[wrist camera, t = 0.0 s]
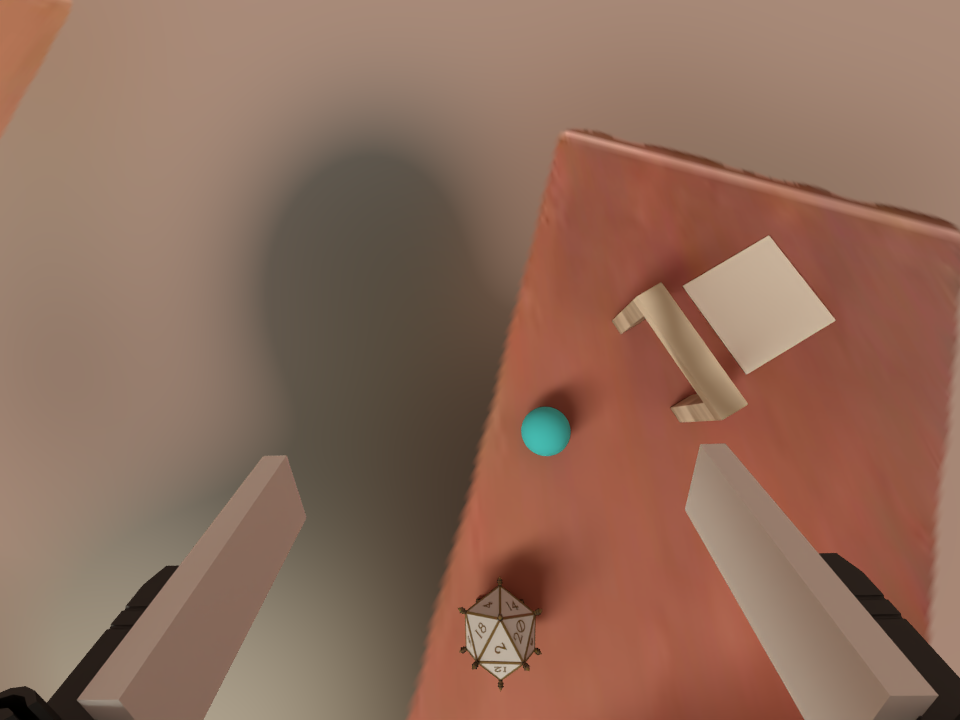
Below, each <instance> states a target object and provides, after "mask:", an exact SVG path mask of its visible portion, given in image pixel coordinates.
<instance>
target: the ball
mask: <svg viewBox="0 0 960 720" xmlns="http://www.w3.org/2000/svg"><path fill="white" fill-rule="evenodd" d="M521 433H522V438H523V441H524V443H525V444H526V446H527V447H528V448H529V449H530V450H531V451H532V452H534V453H536V454H538V455H542V456H552V455H555V454H557V453H559V452H561V451H562V450H563V449H564V448H565V447H566V446H567V444H568V442H569V439H570V435H571V430H570V425H569V422H568V420H567V418H566V417H565V416H564V414H563V413H561V412H560V411H559V410H557V409H555V408H552V407H539V408H536V409H534V410H532V411H531V412H530V413H529V414H528V415H527V416H526V417H525V419H524V421H523V423H522V428H521Z"/></svg>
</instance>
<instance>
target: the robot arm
mask: <svg viewBox="0 0 960 720" xmlns="http://www.w3.org/2000/svg"><path fill="white" fill-rule="evenodd" d="M685 511H686V512H687V514H688V516H689V518H690V519H691V521H692V523H693V525H694V526H695V528H696V530H697V532H698V533H699V535H700V537H701V539H702V540H703V542H704V544H705V546H706V547H707V549H708V551H709V553H710V555H711V556H712V558H713V560H714V562H715V563H716V565H717V567H718V569H719V570H720V572H721V574H722V576H723V577H724V579H725V581H726V583H727V584H728V586H729V588H730V590H731V591H732V593H733V595H734V597H735V598H736V600H737V602H738V604H739V605H740V607H741V609H742V611H743V613H744V614H745V616H746V618H747V620H748V621H749V623H750V625H751V627H752V628H753V630H754V632H755V634H756V635H757V637H758V639H759V641H760V642H761V644H762V646H763V648H764V649H765V651H766V653H767V655H768V656H769V658H770V660H771V662H772V664H773V665H774V667H775V669H776V671H777V672H778V674H779V676H780V678H781V679H782V681H783V683H784V685H785V686H786V688H787V690H788V692H789V693H790V695H791V697H792V699H793V700H794V702H795V704H796V706H797V707H798V709H799V711H800V713H801V714H802V716H803V718H804V720H960V678H959V677H958V676H957V675H956V673H954V671H953V670H952V669H951V668H950V667H949V666H948V665H947V664H946V663H945V661H944V660H943V659H942V658H941V657H940V656H939V655H938V654H937V653H936V652H935V650H934V649H933V648H932V647H931V646H930V645H929V644H928V643H927V642H926V641H925V640H924V638H923V637H922V636H921V635H920V634H919V633H918V632H917V631H916V630H915V629H914V628H913V626H912V625H911V624H910V623H909V622H908V621H907V620H906V619H903V618H902V617H901V613H900V612H899V611H898V610H897V609H896V608H895V607H894V606H893V605H892V604H891V602H890V601H889V600H886V599H885V598H884V595H883V594H882V593H881V592H880V590H879V589H878V588H877V587H876V586H875V585H874V584H873V583H872V582H871V581H870V580H869V578H868V577H867V576H866V575H865V574H864V573H863V572H862V571H860V570H859V569H858V568H856V567H855V566H853V565H852V564H851V563H849V562H848V561H847V560H845V559H844V558H842V557H841V556H840V555H838V554H837V553H819V554H818V552H817V551H816V550H815V549H814V548H813V547H812V545H811V544H810V543H809V542H808V541H807V539H806V538H805V537H804V536H803V535H802V534H801V532H800V531H799V530H798V529H797V528H796V526H795V525H794V524H793V523H792V522H791V521H790V519H789V518H788V517H787V516H786V515H785V513H784V512H783V511H782V510H781V509H780V508H779V506H778V505H777V504H776V503H775V502H774V500H773V499H772V498H771V497H770V496H769V495H768V493H767V492H766V491H765V490H764V489H763V487H762V486H761V485H760V484H759V483H758V482H757V480H756V479H755V478H754V477H753V476H752V474H751V473H750V472H749V471H748V470H747V469H746V467H745V466H744V465H743V464H742V463H741V461H740V460H739V459H738V458H737V457H736V456H735V454H734V453H733V452H732V451H731V450H730V448H729V447H728V446H727V445H726V444H700V448H699V452H698V456H697V460H696V465H695V469H694V473H693V478H692V482H691V486H690V490H689V495H688V499H687V503H686V507H685ZM305 519H306V515H305V512H304V509H303V506H302V502H301V499H300V496H299V493H298V490H297V487H296V484H295V481H294V477H293V474H292V471H291V468H290V465H289V462H288V458H287V456H286V455H284V456H263V457H262V458H261V460H260V461H259V462H258V464H257V465H256V466H255V468H254V469H253V470H252V471H251V473H250V474H249V475H248V477H247V478H246V479H245V481H244V482H243V483H242V485H241V486H240V487H239V489H238V490H237V491H236V492H235V494H234V495H233V496H232V498H231V499H230V500H229V502H228V503H227V504H226V506H225V507H224V508H223V510H222V511H221V512H220V513H219V515H218V516H217V517H216V519H215V520H214V521H213V522H212V524H211V525H210V526H209V528H208V529H207V530H206V532H205V533H204V534H203V536H202V537H201V538H200V540H199V541H198V542H197V543H196V545H195V546H194V547H193V549H192V550H191V551H190V553H189V554H188V555H187V556H186V558H185V559H184V560H183V562H182V563H181V564H180V566H166V567H165V568H163V569H162V570H161V571H159V572H158V573H157V574H156V575H155V576H153V577H152V578H151V579H150V580H148V581H147V582H146V583H145V584H144V585H143V586H142V587H141V588H140V589H139V591H138V592H137V593H136V594H135V596H134V597H133V598H132V599H131V601H130V602H129V603H128V604H127V605H126V609H125V610H124V611H121V613H120V614H119V615H118V616H117V618H116V619H115V620H114V621H113V622H112V624H111V627H110V629H108V630H106V631H105V632H104V634H103V635H102V636H101V637H100V639H99V640H98V641H97V642H96V643H95V645H94V646H93V647H92V648H91V649H90V651H89V652H88V653H87V654H86V656H85V657H84V658H83V659H82V660H81V662H80V663H79V664H78V665H77V667H76V668H75V669H74V670H73V672H72V673H71V674H70V675H69V676H68V678H67V679H66V680H65V681H64V683H63V684H62V685H61V686H60V687H59V689H58V690H57V691H56V693H55V694H54V695H53V696H52V698H50V700H49V701H48V702H47V703H46V702H45V701H44V700H43V699H42V698H41V697H40V696H39V695H38V694H37V693H36V692H35V691H34V690H32V689H30V688H28V687H26V686H24V687H17V688H10V689H8V690H5V691H3V692H1V693H0V720H203V719H204V717H205V715H206V713H207V711H208V709H209V707H210V706H211V704H212V702H213V699H214V698H215V696H216V694H217V692H218V690H219V688H220V686H221V684H222V682H223V680H224V678H225V676H226V674H227V672H228V670H229V668H230V666H231V664H232V662H233V660H234V659H235V657H236V654H237V653H238V651H239V649H240V647H241V645H242V643H243V641H244V639H245V637H246V635H247V633H248V631H249V629H250V627H251V625H252V623H253V621H254V619H255V617H256V615H257V614H258V611H259V609H260V608H261V606H262V604H263V602H264V600H265V598H266V596H267V594H268V592H269V590H270V588H271V586H272V584H273V582H274V580H275V578H276V576H277V574H278V572H279V570H280V568H281V567H282V564H283V563H284V561H285V558H286V557H287V555H288V553H289V551H290V549H291V547H292V545H293V543H294V541H295V539H296V537H297V535H298V533H299V531H300V529H301V527H302V525H303V523H304V521H305Z"/></svg>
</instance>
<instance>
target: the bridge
mask: <svg viewBox="0 0 960 720" xmlns="http://www.w3.org/2000/svg"><path fill="white" fill-rule="evenodd" d="M645 319H646V320H647V321H648V323H649V324H650V326H651V327H652V329H653V330H654V332H655V333H656V335H657V336H658V337H659V339H660V340H661V342H662V343H663V345H664V346H665V348H666V349H667V350H668V352H669V353H670V355H671V356H672V358H673V359H674V361H675V362H676V364H677V365H678V366H679V368H680V369H681V371H682V372H683V374H684V375H685V377H686V378H687V379H688V381H689V382H690V384H691V385H692V387H693V388H694V390H695V391H696V393H697V394H694V395H690V396H689V397H687V398H686V399H684V400H682V401H681V402H679V403H677V404H676V405H674V406H672V407H671V410H672V411H673V413H674V414H675V416H676V417H677V419H678V420H679V422H697V421H715V420H723V419H725V418H727V417H728V416H730V415H732V414H733V413H735V412H736V411H738V410H740V409H741V408H743V407H745V406H746V405H748V403H747V402H746V401H745V399H744V398H743V396H742V395H741V393H740V392H739V391H738V389H737V388H736V386H735V385H734V384H733V382H732V381H731V379H730V378H729V377H728V375H727V374H726V372H725V371H724V370H723V368H722V367H721V365H720V364H719V363H718V361H717V360H716V358H715V357H714V356H713V354H712V353H711V351H710V350H709V348H708V347H707V346H706V344H705V343H704V341H703V340H702V339H701V337H700V336H699V334H698V333H697V332H696V330H695V329H694V327H693V326H692V325H691V323H690V322H689V320H688V319H687V318H686V316H685V315H684V313H683V312H682V311H681V309H680V308H679V306H678V305H677V303H676V302H675V301H674V299H673V298H672V296H671V295H670V294H669V292H668V291H667V289H666V288H665V287H664V285H663V284H662V282H661V283H659V284H657V285H656V286H654V287H652V288H650V289H649V290H647V291H645V292H644V293H642V294H640V295H638V296H637V297H636V298H635V299H634V300H633V301H632V302H631V303H630V304H629V305H627V306H626V307H625V308H624V309H623V310H622V311H621V312H620V313H619V314H618V315H617V316H616V317H615V318H614V319H613V320H612V322H613V323H614V325H615V326H616V328H617V329H618V331H619V332H620V334H622V333H624V332H625V331H627V330H629V329H630V328H632V327H634V326H636V325H637V324H639V323H641V322H642V321H643V320H645Z"/></svg>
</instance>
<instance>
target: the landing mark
mask: <svg viewBox="0 0 960 720" xmlns="http://www.w3.org/2000/svg"><path fill="white" fill-rule="evenodd" d="M683 288H684V289H685V290H686V292H687V293H688V295H689V296H690V297H691V299H692V300H693V302H694V303H695V304H696V306H697V307H698V309H699V310H700V311H701V313H702V314H703V315H704V317H705V318H706V320H707V321H708V322H709V324H710V325H711V327H712V328H713V329H714V331H715V332H716V333H717V335H718V336H719V338H720V339H721V340H722V342H723V343H724V345H725V346H726V347H727V349H728V350H729V352H730V353H731V354H732V356H733V357H734V358H735V360H736V361H737V363H738V364H739V365H740V367H741V368H742V370H743V371H744V372H745V374H748V373H750V372H752V371H753V370H755V369H757V368H758V367H760V366H762V365H763V364H765V363H767V362H768V361H770V360H772V359H773V358H775V357H776V356H778V355H780V354H781V353H783V352H785V351H786V350H788V349H790V348H791V347H793V346H795V345H796V344H798V343H800V342H801V341H803V340H804V339H806V338H808V337H809V336H811V335H813V334H814V333H816V332H818V331H819V330H821V329H823V328H824V327H826V326H828V325H829V324H831V323H832V322H834V321H836V320H835V319H834V317H833V316H832V315H831V314H830V312H829V311H828V310H827V308H826V307H825V306H824V305H823V303H822V302H821V301H820V300H819V298H818V297H817V296H816V294H815V293H814V292H813V291H812V289H811V288H810V287H809V286H808V284H807V283H806V282H805V281H804V279H803V278H802V277H801V275H800V274H799V273H798V272H797V270H796V269H795V268H794V267H793V265H792V264H791V263H790V261H789V260H788V259H787V258H786V256H785V255H784V254H783V253H782V251H781V250H780V249H779V247H778V246H777V245H776V244H775V242H774V241H773V240H772V239H771V237H770V236H767V237H765V238H764V239H762V240H760V241H758V242H757V243H755V244H753V245H752V246H750V247H748V248H747V249H745V250H743V251H741V252H740V253H738V254H736V255H735V256H733V257H731V258H729V259H728V260H726V261H724V262H723V263H721V264H719V265H718V266H716V267H714V268H712V269H711V270H709V271H707V272H706V273H704V274H702V275H701V276H699V277H697V278H695V279H694V280H692V281H690V282H689V283H687V284H685V285H684V286H683Z"/></svg>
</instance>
